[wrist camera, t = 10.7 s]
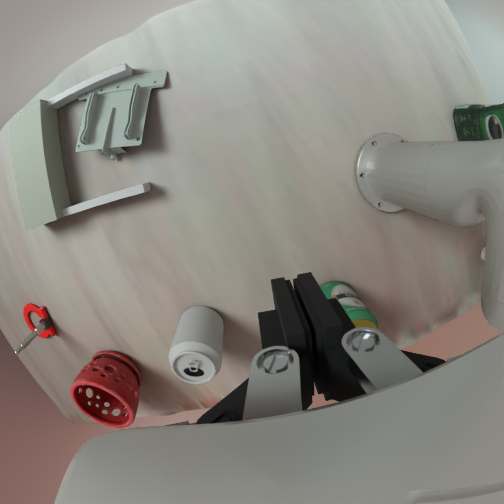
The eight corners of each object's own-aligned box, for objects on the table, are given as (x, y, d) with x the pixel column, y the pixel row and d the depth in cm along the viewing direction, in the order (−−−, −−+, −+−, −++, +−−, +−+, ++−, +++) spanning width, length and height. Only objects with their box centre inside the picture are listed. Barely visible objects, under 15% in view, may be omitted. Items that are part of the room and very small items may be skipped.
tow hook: (35, 334, 46) (59, 336, 45) (6, 365, 33) (28, 371, 33) (21, 303, 43) (44, 301, 42) (-13, 331, 31) (7, 334, 30)
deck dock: (132, 68, 31) (119, 59, 26) (151, 190, 37) (139, 194, 32) (27, 121, 31) (10, 120, 26) (43, 223, 37) (26, 231, 33)
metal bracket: (150, 145, 30) (58, 156, 29) (161, 158, 36) (77, 165, 35) (166, 58, 30) (79, 74, 29) (173, 78, 36) (93, 90, 35)
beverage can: (358, 282, 44) (390, 319, 32) (342, 322, 46) (366, 364, 35) (316, 274, 43) (340, 312, 31) (301, 316, 45) (319, 362, 34)
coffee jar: (480, 150, 36) (548, 159, 19) (458, 155, 37) (533, 164, 19) (470, 104, 33) (538, 100, 16) (447, 105, 34) (521, 98, 16)
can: (181, 337, 46) (168, 385, 34) (179, 301, 43) (163, 346, 32) (223, 341, 46) (220, 390, 35) (225, 305, 44) (221, 351, 32)
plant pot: (145, 395, 51) (132, 436, 39) (92, 375, 49) (72, 411, 37) (151, 357, 47) (135, 402, 35) (91, 333, 45) (65, 371, 34)
